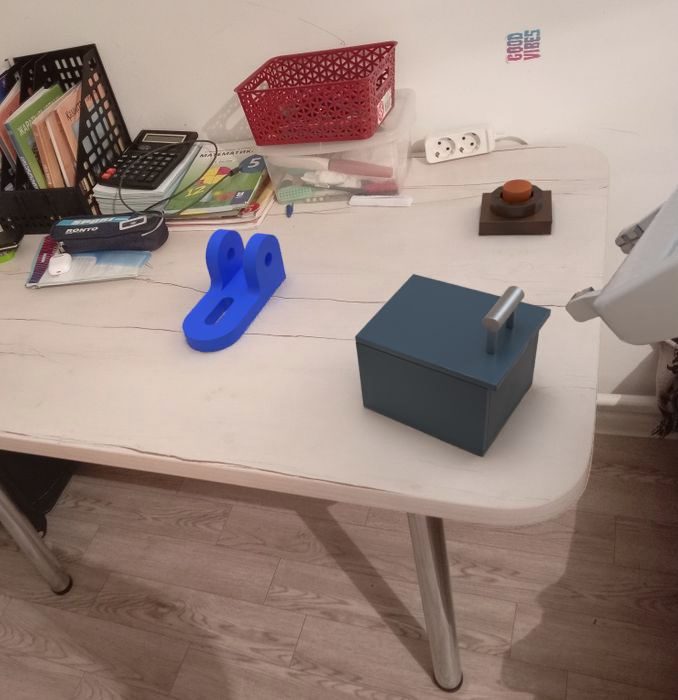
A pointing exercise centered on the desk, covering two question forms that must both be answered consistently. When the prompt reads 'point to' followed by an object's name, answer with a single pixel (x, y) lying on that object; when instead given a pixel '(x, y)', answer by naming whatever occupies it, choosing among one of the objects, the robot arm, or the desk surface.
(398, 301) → the box lid
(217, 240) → the bracket
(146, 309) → the desk surface
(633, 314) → the robot arm
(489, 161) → the desk surface
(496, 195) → the control block
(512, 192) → the button
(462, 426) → the open box
